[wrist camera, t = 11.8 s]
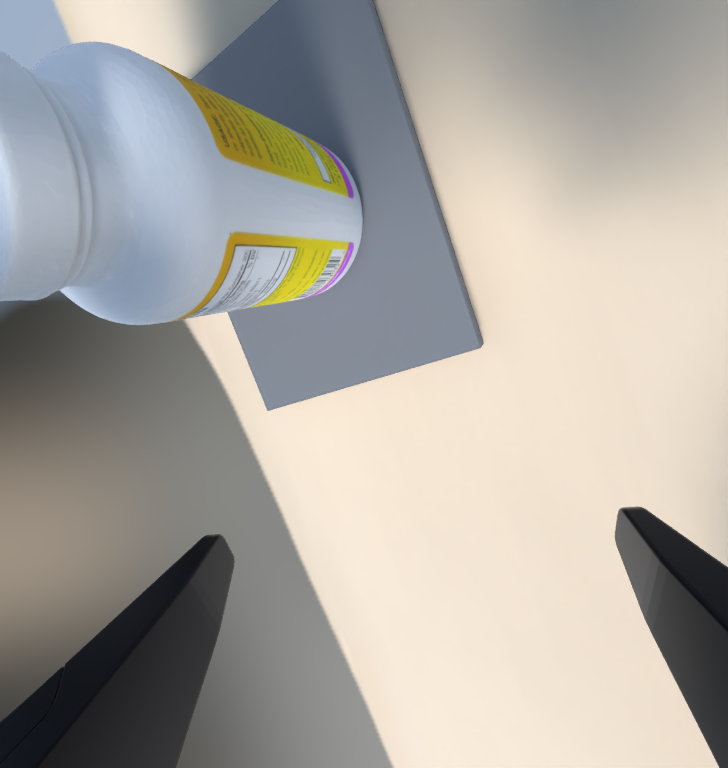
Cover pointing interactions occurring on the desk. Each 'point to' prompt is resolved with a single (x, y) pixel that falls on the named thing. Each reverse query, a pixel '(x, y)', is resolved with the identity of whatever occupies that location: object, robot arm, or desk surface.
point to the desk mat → (378, 200)
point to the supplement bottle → (160, 193)
